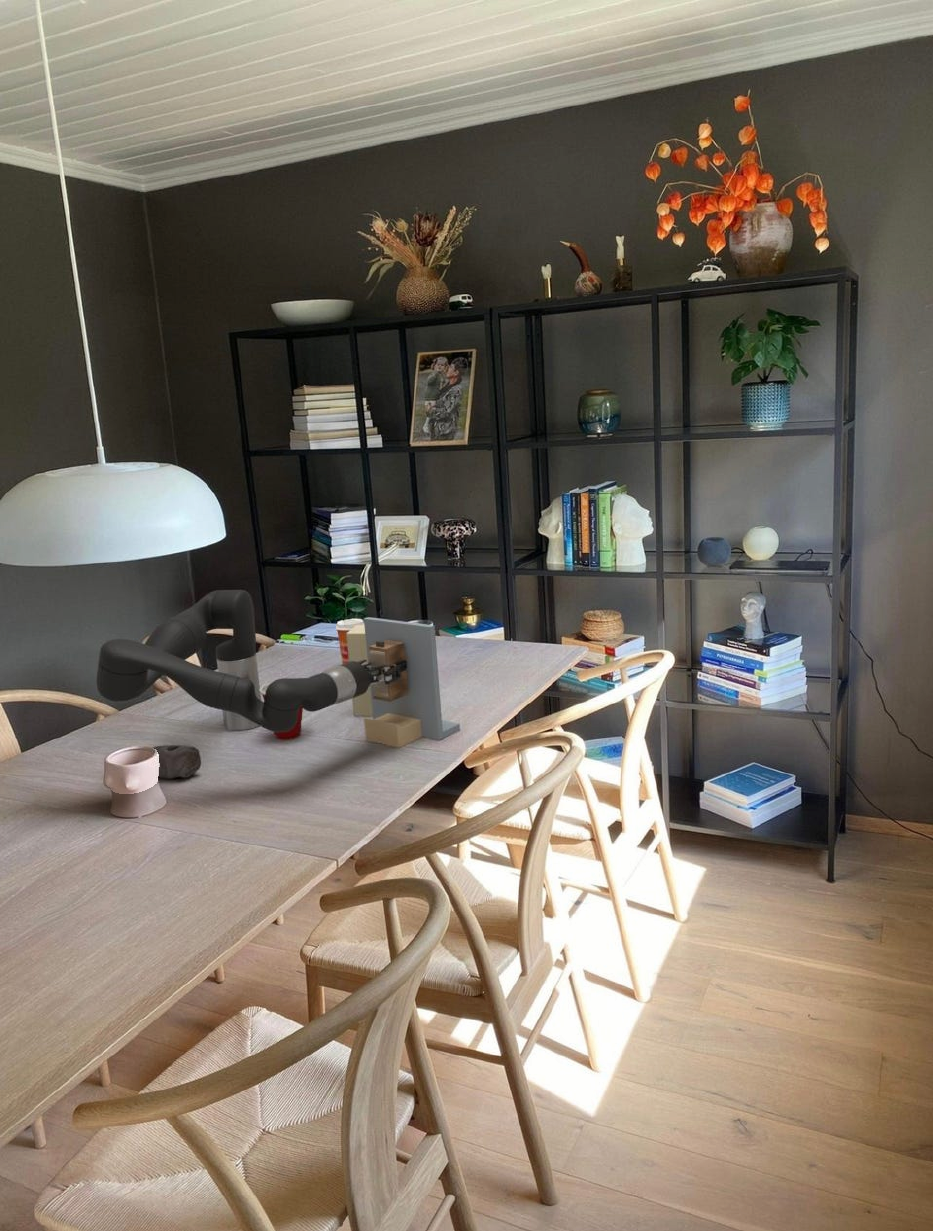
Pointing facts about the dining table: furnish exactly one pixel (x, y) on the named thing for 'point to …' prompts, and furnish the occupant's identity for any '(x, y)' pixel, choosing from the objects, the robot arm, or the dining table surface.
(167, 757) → the perforated stone tool
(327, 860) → the dining table surface
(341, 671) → the robot arm
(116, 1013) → the dining table surface
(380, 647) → the walnut cabinet
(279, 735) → the plastic cup
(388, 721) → the wall board
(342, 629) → the coffee cup
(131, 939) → the dining table surface
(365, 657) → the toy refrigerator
